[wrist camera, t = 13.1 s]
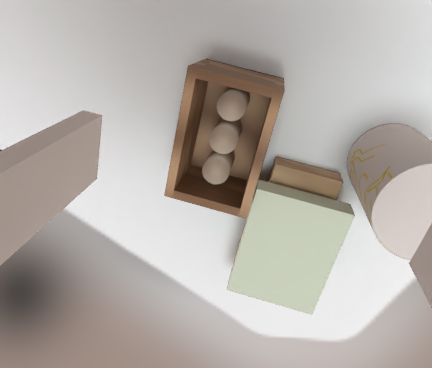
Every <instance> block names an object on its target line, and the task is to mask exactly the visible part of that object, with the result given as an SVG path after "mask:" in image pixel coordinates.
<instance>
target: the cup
mask: <svg viewBox="0 0 432 368" xmlns="http://www.w3.org/2000/svg"><path fill="white" fill-rule="evenodd" d="M347 172H348V175H349V178H350V180H351V182H352V185H353V187H354V189H355V191H356V194H357V196H358V198H359V200H360V202H361V205H362V207H363V209H364V211H365V213H366V216H367V218H368V220H369V222H370V225H371V227H372V229H373V231H374V233H375V235H376V237H377V239H378V241H379V242H380V243H381V244H382V246H383V247H384V248H386V249H387V250H388V251H389V252H391V253H392V254H394V255H396V256H398V257H401V258H403V259H407V260H411V259H412V257H413V255H414V254H415V252H416V250H417V248H418V247H419V245H420V243H421V241H422V239H423V238H424V236H425V234H426V232H427V230H428V229H429V227H430V225H431V223H432V141H430V140H429V139H428V138H426V137H425V136H424V135H422V134H421V133H420V132H418V131H417V130H415V129H414V128H412V127H409V126H406V125H402V124H385V125H380V126H377V127H375V128H372V129H370V130H369V131H367V132H365V133H364V134H363V135H361V136H360V137H359V138H358V139H357V140H356V142H355V143H354V144H353V146H352V148H351V150H350V152H349V154H348V158H347Z"/></svg>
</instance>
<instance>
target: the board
mask: <svg viewBox="0 0 432 368" xmlns="http://www.w3.org/2000/svg"><path fill="white" fill-rule="evenodd" d="M268 182H270V183H274V184H278V185H282V186H285V187H289V188H293V189H296V190H300V191H304V192H307V193H311V194H315V195H318V196H322V197H326V198H330V199H333V200H336V199H337V197H338V194H339V192H340V189H341V187H342V184H343V180H342V178H341V175H340V173H336V172H332V171H329V170H325V169H321V168H317V167H314V166H310V165H306V164H302V163H299V162H295V161H291V160H287V159H284V158H280V157H276V158H275V161H274V164H273V167H272V171H271V174H270V177H269V180H268Z"/></svg>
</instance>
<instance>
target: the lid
mask: <svg viewBox="0 0 432 368" xmlns="http://www.w3.org/2000/svg"><path fill="white" fill-rule="evenodd" d="M354 216H355V215H354V212H353V210H352V207H351V205H350V204H348V203H344V202H341V201H337V200H333V199H330V198H326V197H322V196H318V195H315V194H311V193H307V192H304V191H300V190H296V189H293V188H289V187H285V186H282V185H278V184H274V183H270V182H267V181H263V180H259V179H258V182H257V185H256V189H255V192H254V196H253V199H252V202H251V206H250V209H249V213H248V216H247V219H246V223H245V226H244V230H243V233H242V236H241V240H240V243H239V247H238V250H237V253H236V257H235V260H234V264H233V267H232V270H231V274H230V277H229V282H228V287H227V290H229V291H232V292H236V293H239V294H243V295H246V296H250V297H253V298H256V299H260V300H263V301H267V302H270V303H274V304H277V305H281V306H284V307H287V308H291V309H294V310H298V311H301V312H305V313H308V314H311V315H312V314H313V311H314V309H315V307H316V304H317V302H318V300H319V297H320V295H321V293H322V290H323V288H324V286H325V283H326V281H327V279H328V276H329V274H330V272H331V269H332V267H333V265H334V263H335V260H336V258H337V256H338V253H339V251H340V249H341V246H342V244H343V242H344V239H345V237H346V235H347V232H348V230H349V228H350V225H351V223H352V221H353V218H354Z"/></svg>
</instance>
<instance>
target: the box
mask: <svg viewBox="0 0 432 368" xmlns="http://www.w3.org/2000/svg"><path fill="white" fill-rule="evenodd" d="M283 93H284V78H280V77H276V76H272V75H268V74H264V73H260V72H256V71H252V70H248V69H244V68H240V67H236V66H232V65H229V64H225V63H221V62H217V61H213V60H209V59H205V60H202V61H200V62H197V63H195V64H192V65H189V66H188V69H187V75H186V80H185V86H184V91H183V97H182V102H181V107H180V113H179V118H178V124H177V129H176V135H175V140H174V145H173V151H172V156H171V162H170V167H169V173H168V178H167V184H166V189H165V194H164V196H167V197H171V198H174V199H178V200H182V201H185V202H189V203H192V204H196V205H200V206H203V207H207V208H210V209H214V210H218V211H221V212H225V213H228V214H232V215H235V216H239V217H243V218H246V219H247V216H248V212H249V209H250V205H251V202H252V199H253V195H254V192H255V188H256V185H257V182H258V178H259V175H260V171H261V168H262V165H263V161H264V158H265V155H266V151H267V148H268V144H269V141H270V138H271V134H272V131H273V127H274V124H275V121H276V117H277V114H278V110H279V107H280V104H281V100H282V97H283Z"/></svg>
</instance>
